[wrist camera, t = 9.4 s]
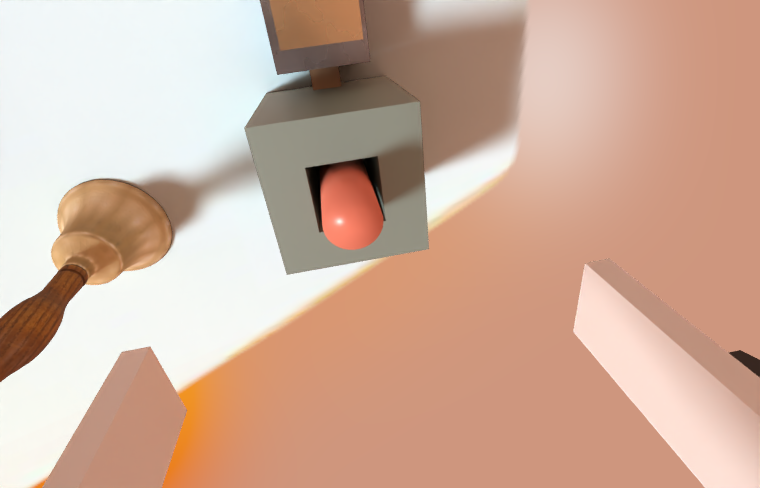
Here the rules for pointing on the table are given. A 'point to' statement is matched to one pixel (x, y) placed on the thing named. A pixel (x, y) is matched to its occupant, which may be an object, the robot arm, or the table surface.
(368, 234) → the red rounded peg
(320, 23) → the block
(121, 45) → the table surface
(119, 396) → the robot arm
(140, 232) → the hand bell
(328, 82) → the rail
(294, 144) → the grey hole block
